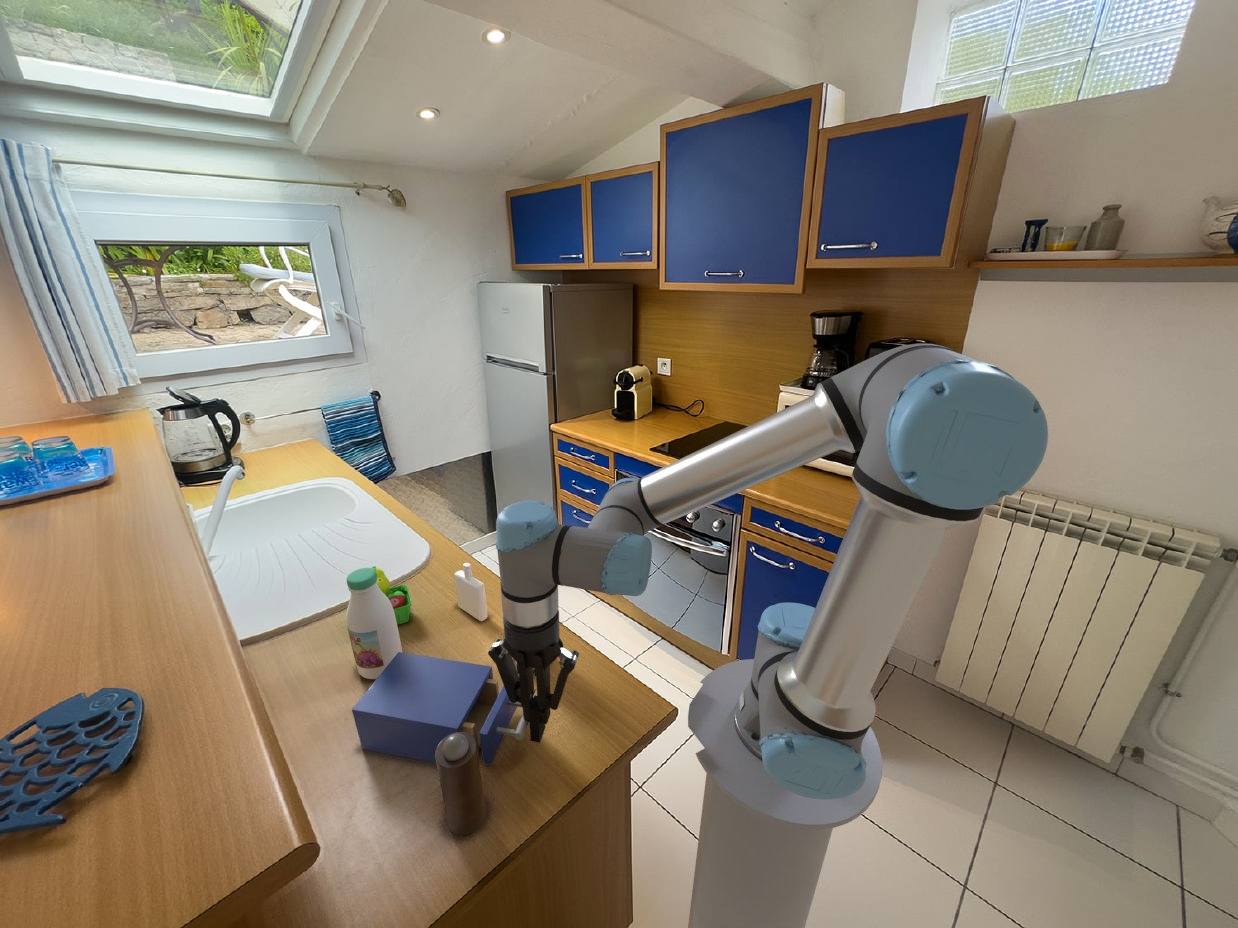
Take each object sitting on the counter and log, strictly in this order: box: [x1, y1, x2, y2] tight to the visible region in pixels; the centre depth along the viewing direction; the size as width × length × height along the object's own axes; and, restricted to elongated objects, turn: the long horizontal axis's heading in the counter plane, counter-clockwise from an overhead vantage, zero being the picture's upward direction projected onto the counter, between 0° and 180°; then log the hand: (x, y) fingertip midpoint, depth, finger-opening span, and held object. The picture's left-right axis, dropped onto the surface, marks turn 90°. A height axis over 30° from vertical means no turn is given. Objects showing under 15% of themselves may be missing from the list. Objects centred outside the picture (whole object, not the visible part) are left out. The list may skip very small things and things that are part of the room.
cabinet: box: [351, 651, 494, 764], centre depth 78 cm, size 17×12×8 cm
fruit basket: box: [347, 565, 412, 626], centre depth 100 cm, size 11×9×11 cm
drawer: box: [461, 678, 529, 766], centre depth 77 cm, size 20×11×6 cm, turn 80°
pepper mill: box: [435, 732, 487, 837], centre depth 64 cm, size 5×5×15 cm
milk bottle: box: [345, 567, 404, 680], centre depth 87 cm, size 8×8×20 cm
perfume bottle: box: [453, 562, 489, 622], centre depth 103 cm, size 8×2×12 cm, turn 52°
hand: (538, 733), depth 76 cm, fingers closed
